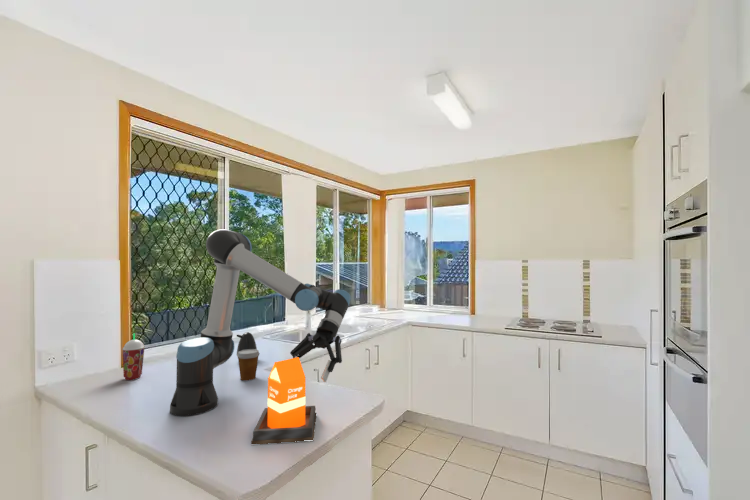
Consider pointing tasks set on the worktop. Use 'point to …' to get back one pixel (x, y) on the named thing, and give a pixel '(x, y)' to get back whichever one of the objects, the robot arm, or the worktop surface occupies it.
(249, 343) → the pump dispenser
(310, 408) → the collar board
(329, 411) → the worktop surface
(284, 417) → the orange juice
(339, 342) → the robot arm
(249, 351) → the disposable coffee cup
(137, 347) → the smoothie
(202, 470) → the worktop surface
